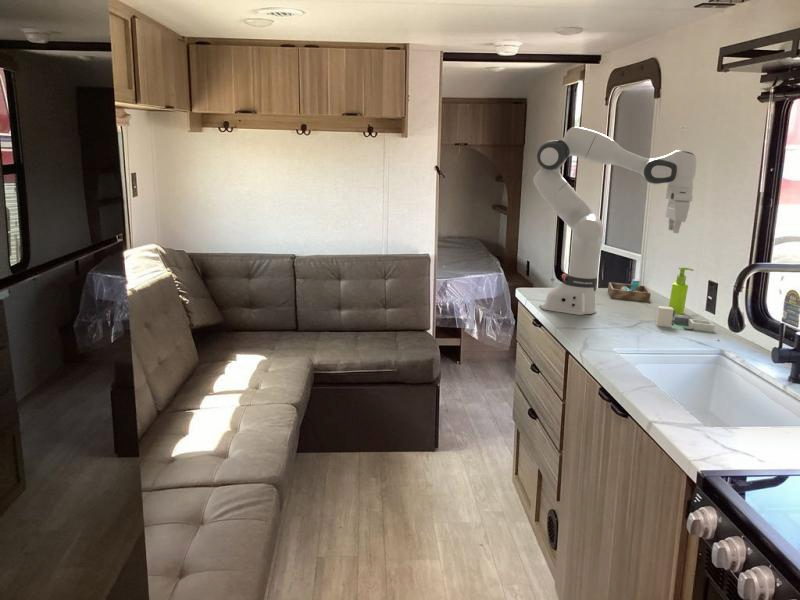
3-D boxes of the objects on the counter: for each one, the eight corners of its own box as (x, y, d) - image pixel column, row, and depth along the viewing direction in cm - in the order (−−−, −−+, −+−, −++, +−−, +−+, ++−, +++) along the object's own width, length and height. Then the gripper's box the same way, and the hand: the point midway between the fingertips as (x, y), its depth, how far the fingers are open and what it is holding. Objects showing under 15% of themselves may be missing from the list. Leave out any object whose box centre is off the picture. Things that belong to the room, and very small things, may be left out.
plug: (656, 328, 243) (659, 308, 241) (654, 325, 247) (657, 305, 245) (672, 330, 242) (675, 309, 240) (670, 327, 245) (673, 307, 244)
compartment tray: (674, 332, 239) (676, 322, 238) (667, 322, 253) (669, 313, 252) (715, 336, 236) (716, 327, 235) (705, 326, 250) (707, 317, 249)
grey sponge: (671, 324, 245) (672, 318, 244) (667, 319, 253) (668, 313, 252) (690, 326, 243) (691, 320, 243) (686, 321, 251) (687, 315, 251)
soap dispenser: (687, 317, 263) (695, 269, 258) (669, 316, 264) (677, 268, 259) (683, 314, 268) (691, 267, 264) (666, 312, 269) (674, 265, 265)
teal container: (646, 300, 292) (649, 283, 290) (620, 298, 292) (622, 281, 290) (637, 294, 304) (640, 278, 302) (612, 292, 304) (614, 276, 302)
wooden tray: (610, 297, 292) (612, 289, 291) (607, 290, 307) (608, 282, 306) (649, 301, 288) (650, 293, 287) (644, 294, 304) (645, 285, 303)
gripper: (665, 192, 252) (659, 228, 255) (675, 195, 232) (669, 233, 236) (682, 193, 251) (676, 229, 254) (693, 197, 231) (687, 235, 234)
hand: (673, 231), depth 245 cm, fingers open, 8 cm apart
